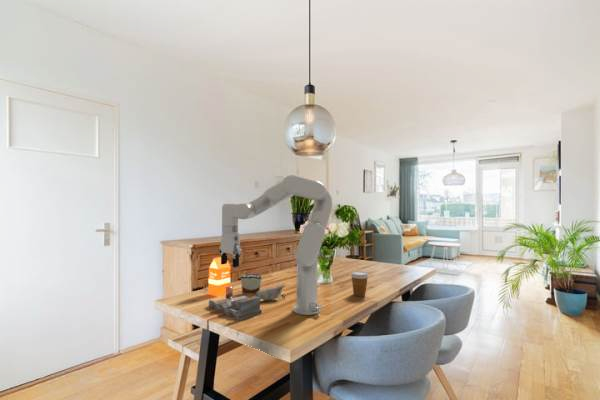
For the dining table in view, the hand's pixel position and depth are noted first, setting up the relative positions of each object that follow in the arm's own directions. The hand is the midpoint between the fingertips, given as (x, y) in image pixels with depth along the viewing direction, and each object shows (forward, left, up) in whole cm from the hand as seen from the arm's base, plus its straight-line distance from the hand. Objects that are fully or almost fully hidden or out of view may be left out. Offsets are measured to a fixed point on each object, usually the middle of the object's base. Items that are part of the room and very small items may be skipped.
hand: (229, 265), depth 145 cm
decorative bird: (-6, -21, -20) cm, 30 cm away
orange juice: (+23, -9, -20) cm, 32 cm away
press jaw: (-3, 0, -18) cm, 19 cm away
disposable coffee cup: (-33, -62, -20) cm, 73 cm away
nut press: (-4, 0, -20) cm, 20 cm away
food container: (+12, -23, -20) cm, 33 cm away
